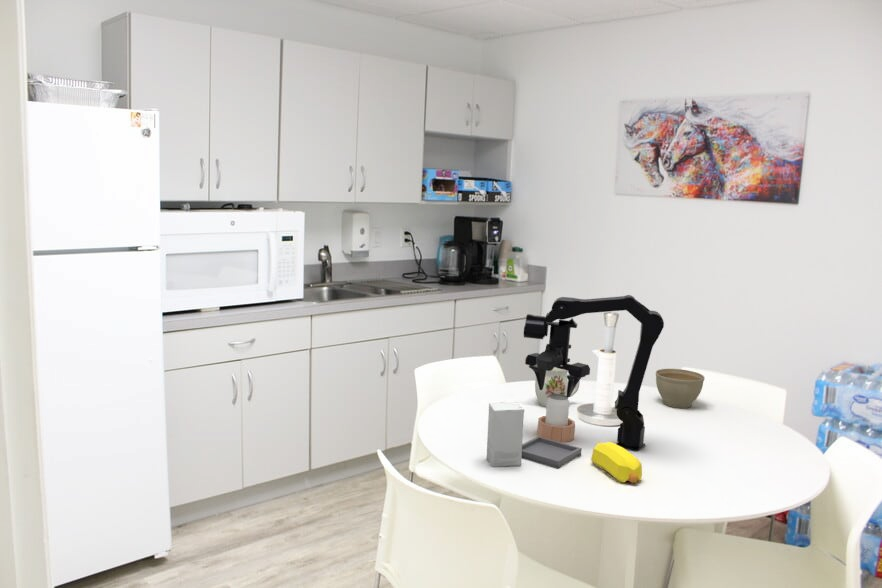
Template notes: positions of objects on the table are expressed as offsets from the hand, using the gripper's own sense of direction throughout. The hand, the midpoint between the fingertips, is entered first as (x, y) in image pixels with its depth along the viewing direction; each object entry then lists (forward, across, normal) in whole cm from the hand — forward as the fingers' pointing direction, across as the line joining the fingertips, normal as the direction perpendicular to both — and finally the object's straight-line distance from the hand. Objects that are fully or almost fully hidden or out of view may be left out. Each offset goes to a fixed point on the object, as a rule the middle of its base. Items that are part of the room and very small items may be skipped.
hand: (554, 393), depth 216 cm
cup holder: (+13, +1, +1) cm, 13 cm away
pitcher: (+13, -17, +28) cm, 35 cm away
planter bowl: (+13, +12, +63) cm, 65 cm away
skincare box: (+13, +3, -28) cm, 31 cm away
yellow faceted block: (+13, +27, -11) cm, 32 cm away
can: (+13, +1, +1) cm, 13 cm away
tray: (+13, +8, -14) cm, 21 cm away
